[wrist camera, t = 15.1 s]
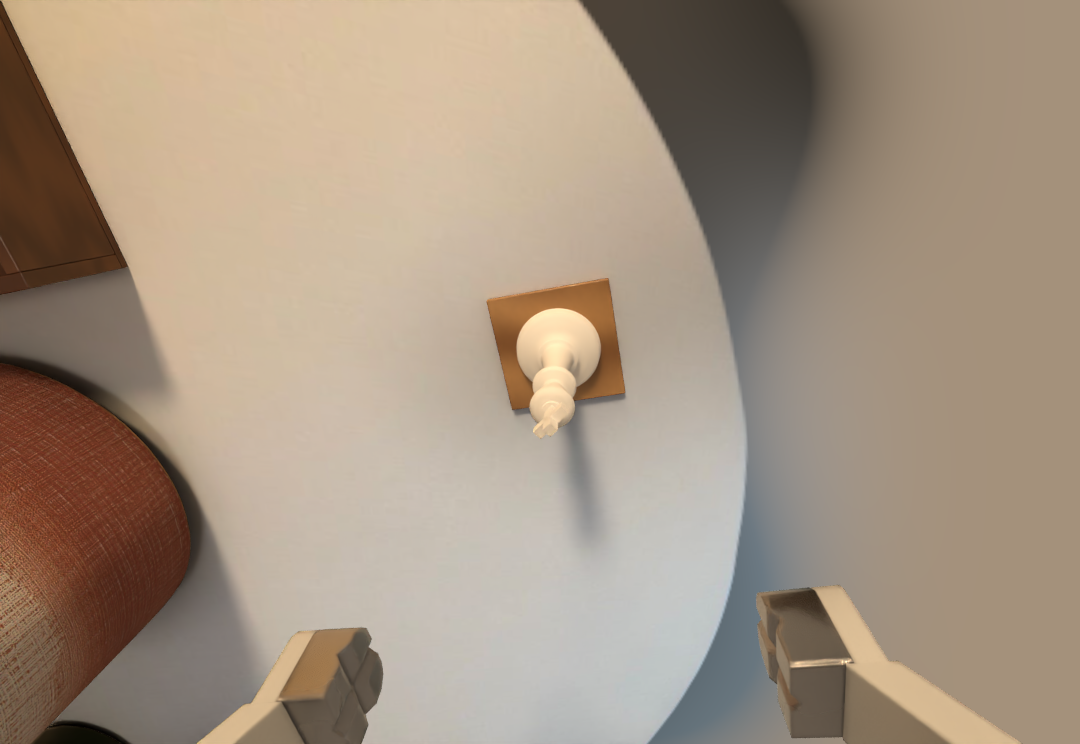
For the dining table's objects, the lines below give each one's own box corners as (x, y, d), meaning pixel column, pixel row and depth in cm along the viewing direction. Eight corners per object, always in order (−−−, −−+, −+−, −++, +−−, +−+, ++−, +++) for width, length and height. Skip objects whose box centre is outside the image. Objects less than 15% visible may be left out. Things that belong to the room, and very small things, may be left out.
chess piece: (499, 349, 30) (464, 429, 21) (557, 290, 29) (547, 348, 19) (559, 402, 31) (551, 501, 22) (618, 348, 30) (637, 430, 21)
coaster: (487, 299, 30) (486, 301, 29) (608, 277, 29) (608, 279, 28) (513, 407, 32) (512, 410, 32) (624, 390, 31) (625, 393, 31)
